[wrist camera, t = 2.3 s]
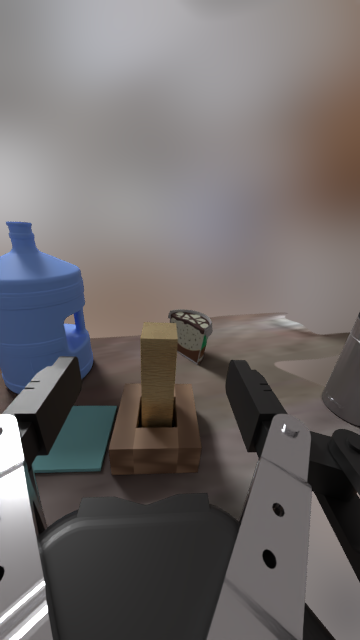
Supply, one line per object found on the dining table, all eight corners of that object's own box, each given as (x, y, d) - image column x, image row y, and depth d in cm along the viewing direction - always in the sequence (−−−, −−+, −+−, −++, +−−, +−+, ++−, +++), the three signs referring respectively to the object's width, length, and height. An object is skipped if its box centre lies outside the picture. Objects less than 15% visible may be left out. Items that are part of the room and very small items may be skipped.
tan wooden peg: (169, 423, 34) (176, 323, 26) (170, 447, 30) (177, 339, 23) (144, 423, 34) (143, 322, 26) (142, 447, 30) (140, 338, 22)
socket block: (189, 405, 37) (191, 384, 35) (197, 472, 27) (201, 447, 25) (126, 406, 36) (125, 383, 34) (111, 475, 26) (108, 449, 24)
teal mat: (116, 408, 36) (116, 405, 36) (100, 471, 27) (100, 468, 27) (55, 408, 35) (55, 405, 35) (17, 473, 26) (16, 470, 26)
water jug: (8, 413, 34) (-67, 221, 22) (4, 363, 45) (-47, 217, 33) (104, 377, 43) (88, 227, 31) (82, 343, 54) (63, 223, 42)
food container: (218, 358, 52) (224, 321, 47) (202, 368, 48) (207, 328, 43) (183, 338, 59) (185, 305, 55) (166, 345, 55) (168, 310, 51)
